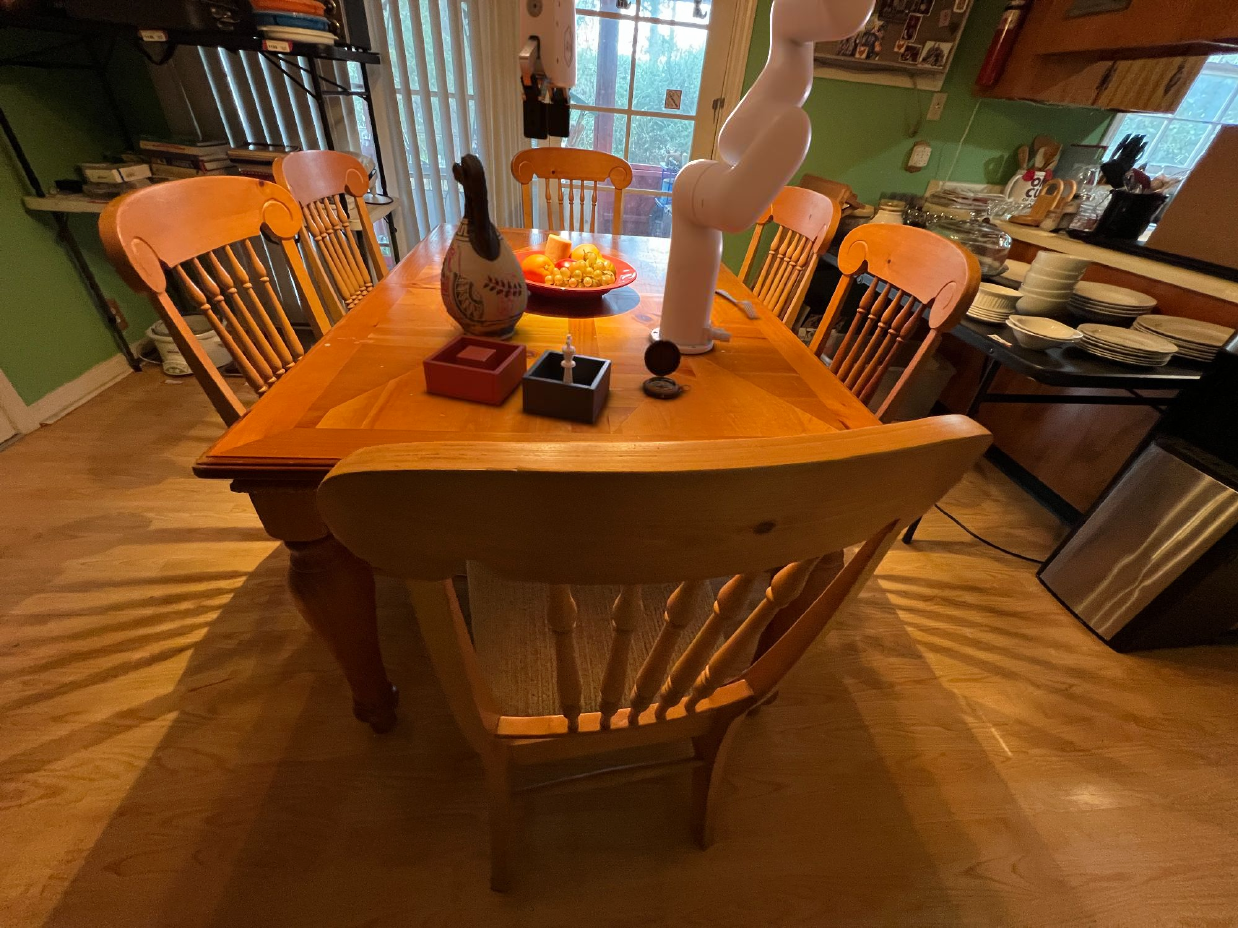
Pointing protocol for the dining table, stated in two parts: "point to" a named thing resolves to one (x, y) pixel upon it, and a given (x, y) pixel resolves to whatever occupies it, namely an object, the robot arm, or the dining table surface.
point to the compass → (662, 369)
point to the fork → (739, 302)
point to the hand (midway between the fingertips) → (547, 137)
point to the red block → (478, 358)
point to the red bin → (475, 371)
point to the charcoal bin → (566, 387)
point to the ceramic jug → (481, 265)
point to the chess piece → (568, 360)
